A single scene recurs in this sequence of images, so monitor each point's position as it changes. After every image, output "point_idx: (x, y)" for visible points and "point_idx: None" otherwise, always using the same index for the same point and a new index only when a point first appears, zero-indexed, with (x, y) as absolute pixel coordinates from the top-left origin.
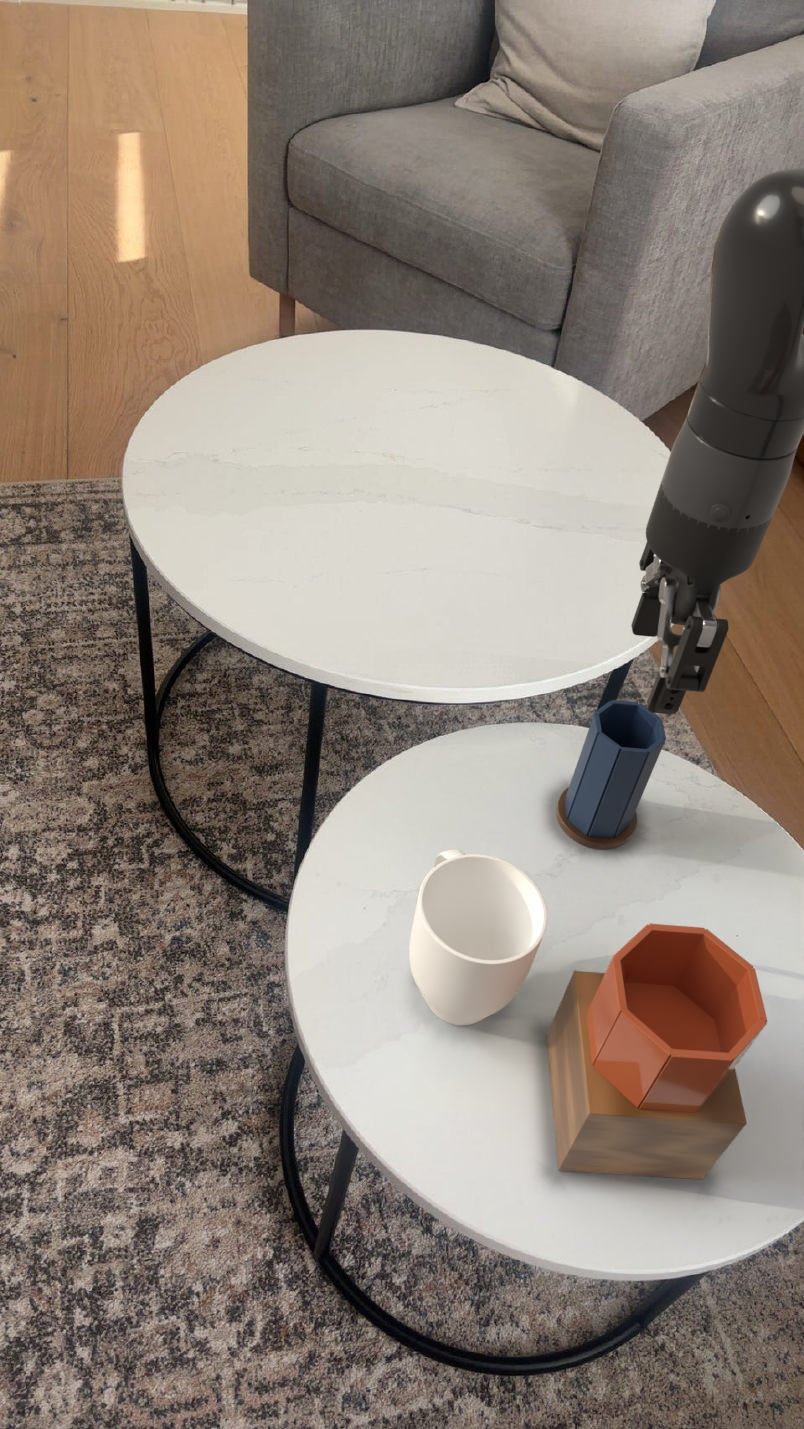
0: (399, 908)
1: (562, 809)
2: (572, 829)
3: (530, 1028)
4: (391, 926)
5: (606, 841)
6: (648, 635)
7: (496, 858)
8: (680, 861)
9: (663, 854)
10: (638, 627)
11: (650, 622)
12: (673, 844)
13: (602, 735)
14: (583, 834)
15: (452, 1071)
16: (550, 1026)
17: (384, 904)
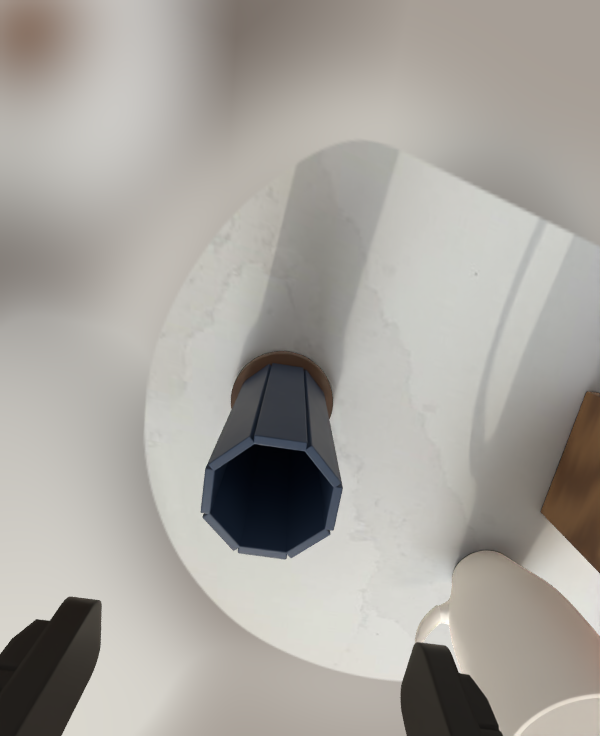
0: (381, 608)
1: None
2: None
3: (530, 523)
4: (400, 616)
5: (328, 404)
6: (98, 618)
7: (517, 733)
8: (357, 310)
9: (344, 329)
10: (82, 679)
11: (67, 683)
12: (330, 310)
13: (294, 552)
14: None
15: None
16: (552, 523)
17: (375, 619)
